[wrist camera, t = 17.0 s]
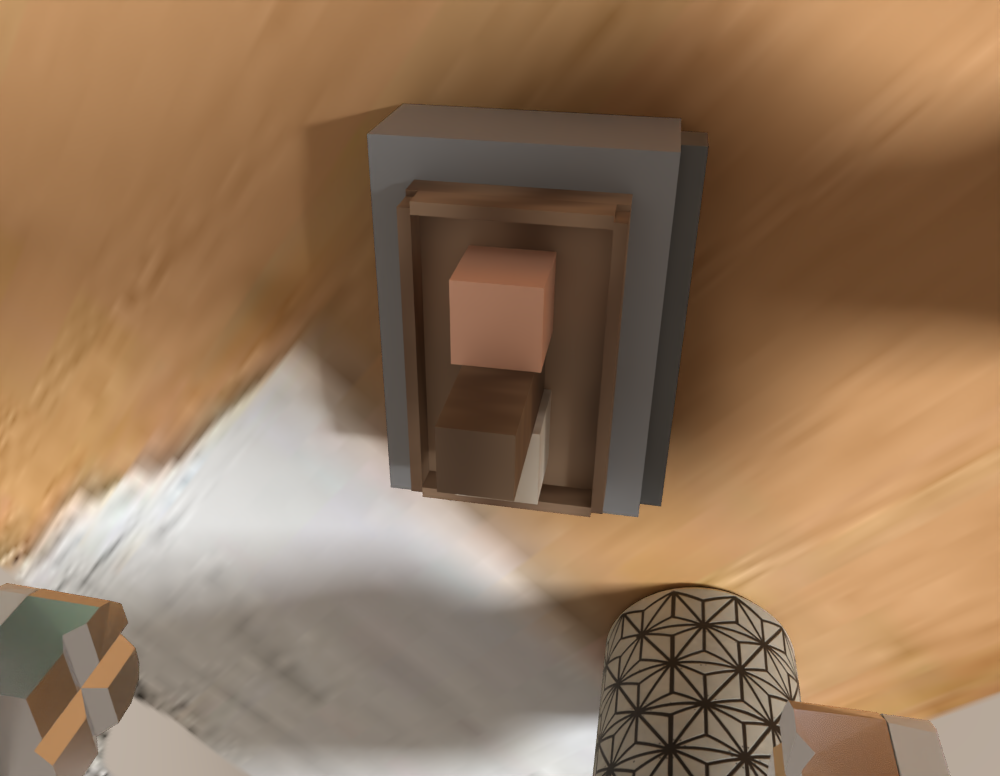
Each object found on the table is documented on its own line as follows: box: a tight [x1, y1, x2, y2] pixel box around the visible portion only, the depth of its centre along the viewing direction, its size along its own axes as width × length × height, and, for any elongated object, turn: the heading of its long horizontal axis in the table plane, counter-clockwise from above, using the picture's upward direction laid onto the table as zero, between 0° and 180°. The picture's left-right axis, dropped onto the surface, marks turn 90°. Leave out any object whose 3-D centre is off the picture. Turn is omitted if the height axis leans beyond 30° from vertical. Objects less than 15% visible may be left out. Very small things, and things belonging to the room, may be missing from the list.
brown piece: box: [396, 180, 633, 517], centre depth 39 cm, size 10×16×10 cm, turn 0°
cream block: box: [455, 389, 551, 504], centre depth 42 cm, size 4×4×4 cm
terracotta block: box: [449, 245, 556, 373], centre depth 39 cm, size 4×4×4 cm
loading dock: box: [367, 104, 709, 517], centre depth 46 cm, size 15×20×6 cm
